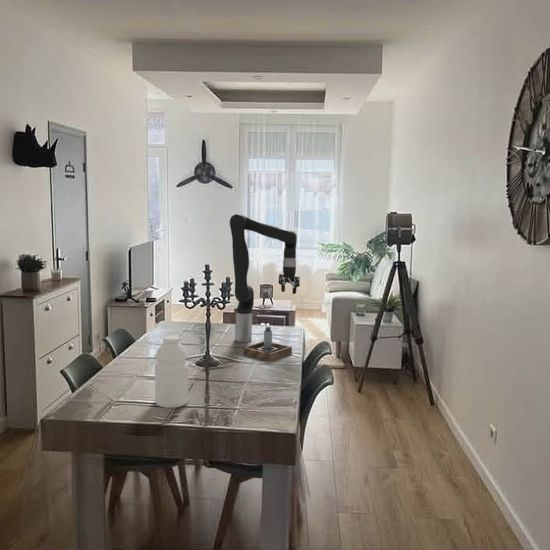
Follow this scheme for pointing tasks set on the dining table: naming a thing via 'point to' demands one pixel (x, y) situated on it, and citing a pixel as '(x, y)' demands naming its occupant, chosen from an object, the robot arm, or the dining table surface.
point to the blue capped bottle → (268, 339)
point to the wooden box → (271, 355)
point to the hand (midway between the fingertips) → (288, 292)
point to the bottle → (171, 374)
